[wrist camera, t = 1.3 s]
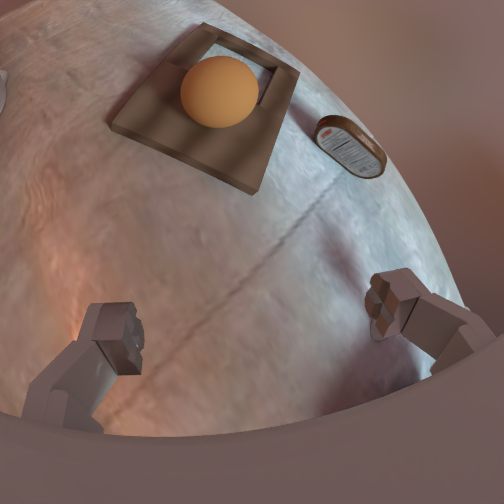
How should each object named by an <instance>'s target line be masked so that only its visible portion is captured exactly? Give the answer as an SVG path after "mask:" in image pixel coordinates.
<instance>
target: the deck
mask: <svg viewBox="0 0 504 504" xmlns="http://www.w3.org/2000/svg"><path fill="white" fill-rule="evenodd" d="M214 43H217V44H219V45H221V46H223V47H225V48H227V49H229V50H232V51H234V52H236V53H238V54H240V55H242V56H244V57H246V58H248V59H249V60H251V61H253V62H255V63H257V64H259V65H261V66H263V67H264V68H266V69H268V70H270V71H271V72H273V74H272V76H271V78H270V81H269V83H268V85H267V87H266V89H265V91H264V93H263V95H262V97H261V99H260V101H259V103H258V105H257V104H256V105H255V107H254V109H253V110H252V112H251V113H250V114H249V115H248V116H247V117H246V118H245V119H244V120H242V121H241V122H239V123H237V124H235V125H233V126H229V127H225V128H211V127H207V126H204V125H201V124H199V123H197V122H196V121H194V120H193V119H192V118H191V117H190V116H189V115H188V114H187V112H186V111H185V109H184V107H183V105H182V102H181V96H180V92H181V85H182V82H183V79H184V77H185V75H186V74H187V73H188V71H189V70H190V69H191V68H192V67H193V66H194V65H195V64H197V62H198V61H199V60H200V59H201V58H202V57H203V55H204V54H205V53H206V52H207V51H208V50H209V49H210V48H211V46H212V45H213V44H214ZM299 75H300V72H299V71H297V70H296V69H294V68H293V67H291V66H289V65H288V64H286V63H284V62H283V61H281V60H279V59H277V58H276V57H274V56H272V55H270V54H269V53H267V52H265V51H263V50H261V49H260V48H258V47H256V46H254V45H252V44H250V43H248V42H246V41H244V40H242V39H240V38H238V37H236V36H234V35H232V34H229V33H227V32H225V31H223V30H220V29H218V28H216V27H214V26H211V25H209V24H206V23H204V22H203V23H202V24H201V25H200V26H198V27H197V28H196V29H195V30H194V31H193V32H192V33H191V34H189V35H188V36H187V37H186V38H185V39H184V40H183V41H182V42H181V43H180V44H179V45H178V46H177V47H176V48H175V49H174V50H173V51H172V52H171V53H170V54H169V55H168V56H167V57H166V58H165V59H164V60H163V61H162V62H161V63H160V64H159V65H158V66H157V67H156V68H155V70H154V71H153V72H152V73H151V74H150V75H149V76H148V77H147V78H146V80H145V81H144V82H143V83H142V84H141V85H140V87H139V88H138V89H137V90H136V91H135V93H134V94H133V95H132V96H131V98H130V99H129V100H128V101H127V103H126V104H125V105H124V106H123V108H122V109H121V110H120V112H119V113H118V114H117V116H116V117H115V118H114V120H113V121H112V131H114V132H116V133H118V134H121V135H123V136H125V137H128V138H130V139H133V140H135V141H137V142H139V143H142V144H144V145H146V146H149V147H151V148H153V149H155V150H158V151H160V152H162V153H164V154H166V155H169V156H171V157H173V158H175V159H177V160H180V161H182V162H184V163H186V164H188V165H190V166H192V167H195V168H197V169H199V170H201V171H203V172H205V173H207V174H209V175H211V176H213V177H215V178H217V179H219V180H221V181H223V182H225V183H228V184H230V185H232V186H234V187H236V188H238V189H240V190H241V191H243V192H245V193H247V194H249V195H251V196H252V195H254V194H255V193H256V192H258V191H259V188H260V185H261V182H262V179H263V176H264V173H265V170H266V167H267V165H268V162H269V159H270V156H271V153H272V150H273V147H274V145H275V142H276V139H277V136H278V133H279V131H280V128H281V125H282V122H283V119H284V116H285V114H286V111H287V108H288V105H289V103H290V100H291V97H292V94H293V91H294V89H295V86H296V83H297V80H298V78H299Z"/></svg>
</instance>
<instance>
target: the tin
mask: <svg viewBox="0 0 504 504" xmlns="http://www.w3.org/2000/svg"><path fill="white" fill-rule="evenodd" d="M315 141H316V143H317V145H318V146H319V147H320V148H321V149H322V150H323V151H324V152H326V153H327V154H328V155H329V156H331V157H332V158H333V159H334V160H336V161H337V162H338V163H339V164H340V165H342V166H343V167H344V168H345V169H346V170H348V171H349V172H350V173H351V174H353V175H355V176H357V177H359V178H363V179H372V178H377V177H379V176H381V175H382V174H383V173H384V171H385V166H386V163H387V156H386V154H385V152H384V150H383V149H382V148H381V147H380V146H379V145H378V144H377V143H376V142H375V141H374V140H373V139H371V138H370V137H369V136H368V135H367V134H366V133H365V132H364V131H363V130H362V129H361V128H360V127H359V126H358V125H357V124H355V123H354V122H353V121H352V120H350V119H348V118H346V117H343V116H339V115H329V116H325V117H323V118H322V119H320V120H319V122H318V124H317V128H316V130H315Z"/></svg>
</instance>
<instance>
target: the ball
mask: <svg viewBox="0 0 504 504" xmlns="http://www.w3.org/2000/svg"><path fill="white" fill-rule="evenodd" d="M258 94H259V87H258V82H257V79H256V77H255V75H254V73H253V72H252V70H251V69H250V68H249V67H248V66H247V65H246V64H245V63H243V62H241V61H240V60H238V59H235V58H232V57H227V56H215V57H210V58H207V59H204V60H202V61H200V62H198V63H197V64H195V65H194V66H193V67H192V68H191V69H190V70H189V71H188V73H187V74H186V75H185V77H184V79H183V82H182V85H181V92H180V96H181V102H182V105H183V107H184V109H185V111H186V112H187V114H188V115H189V116H190V117H191V118H192V119H193V120H194V121H196V122H197V123H199V124H201V125H204V126H207V127H211V128H225V127H229V126H233V125H235V124H237V123H239V122H241V121H242V120H244V119H245V118H246V117H247V116H248V115H249V114H250V113H251V112H252V110H253V109H254V107H255V105H256V103H257V100H258Z"/></svg>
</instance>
